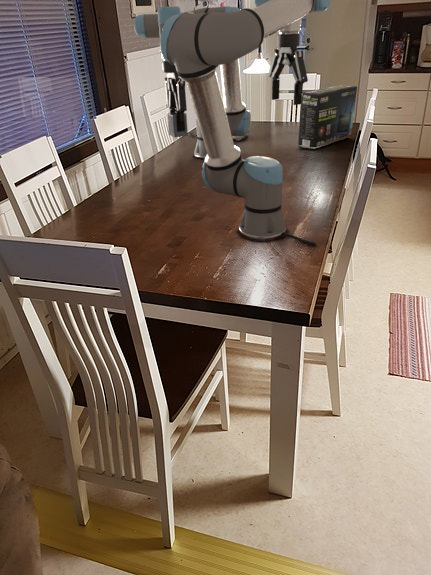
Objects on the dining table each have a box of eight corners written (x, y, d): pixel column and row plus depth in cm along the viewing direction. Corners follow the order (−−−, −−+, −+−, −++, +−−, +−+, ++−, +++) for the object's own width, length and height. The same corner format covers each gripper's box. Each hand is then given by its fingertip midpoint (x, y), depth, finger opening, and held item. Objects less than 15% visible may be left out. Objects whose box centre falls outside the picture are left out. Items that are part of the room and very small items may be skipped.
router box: (314, 151, 231) (318, 94, 217) (296, 148, 237) (299, 92, 224) (352, 138, 251) (358, 85, 238) (335, 135, 258) (340, 83, 245)
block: (182, 132, 173) (180, 111, 169) (188, 135, 168) (186, 113, 164) (169, 134, 171) (167, 113, 167) (174, 137, 166) (172, 115, 162)
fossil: (240, 135, 249) (222, 118, 252) (230, 152, 256) (212, 134, 259) (256, 134, 263) (238, 117, 266) (246, 150, 269) (228, 133, 272)
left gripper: (153, 58, 162) (159, 126, 174) (172, 62, 148) (178, 135, 160) (172, 56, 165) (178, 123, 177) (193, 60, 151) (198, 132, 163)
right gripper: (259, 33, 159) (258, 98, 170) (302, 34, 140) (298, 108, 151) (277, 31, 162) (275, 96, 173) (321, 33, 142) (316, 105, 153)
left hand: (178, 129), depth 168 cm, fingers closed on block, 5 cm apart
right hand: (286, 102), depth 162 cm, fingers open, 13 cm apart
